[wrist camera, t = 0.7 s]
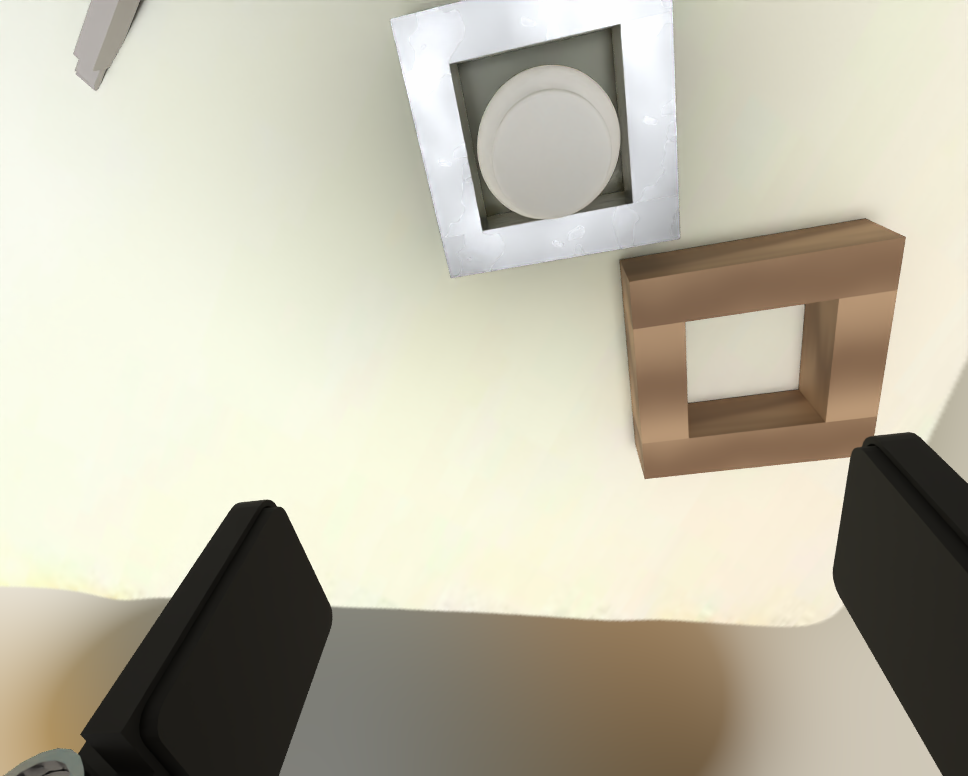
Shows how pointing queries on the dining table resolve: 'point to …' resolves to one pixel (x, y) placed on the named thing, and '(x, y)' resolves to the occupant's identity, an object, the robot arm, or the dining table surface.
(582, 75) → the supplement bottle
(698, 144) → the dining table surface
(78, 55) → the caliper
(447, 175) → the socket block
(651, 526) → the dining table surface
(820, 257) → the block
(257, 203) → the dining table surface
